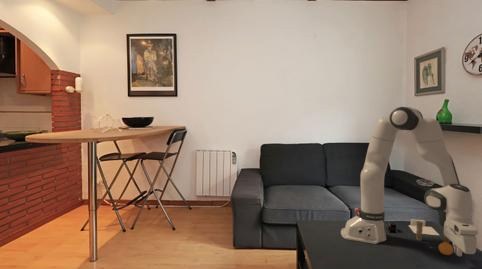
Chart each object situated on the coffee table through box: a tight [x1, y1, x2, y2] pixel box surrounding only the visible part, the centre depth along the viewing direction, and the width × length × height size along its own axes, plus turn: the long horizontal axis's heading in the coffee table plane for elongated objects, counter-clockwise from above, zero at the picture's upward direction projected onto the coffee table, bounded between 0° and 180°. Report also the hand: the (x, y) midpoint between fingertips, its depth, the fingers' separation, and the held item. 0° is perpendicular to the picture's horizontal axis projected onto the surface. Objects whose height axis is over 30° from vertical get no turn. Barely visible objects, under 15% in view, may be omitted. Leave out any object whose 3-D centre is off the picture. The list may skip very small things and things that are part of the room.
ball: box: [438, 241, 454, 256], centre depth 136 cm, size 6×6×6 cm
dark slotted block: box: [384, 221, 399, 234], centre depth 165 cm, size 12×7×5 cm, turn 169°
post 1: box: [415, 222, 423, 241], centre depth 152 cm, size 3×3×9 cm
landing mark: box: [407, 224, 440, 236], centre depth 165 cm, size 12×12×1 cm
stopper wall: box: [410, 218, 426, 226], centre depth 172 cm, size 7×2×3 cm, turn 76°
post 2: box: [443, 234, 451, 244], centre depth 149 cm, size 3×3×9 cm
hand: (458, 254), depth 126 cm, fingers closed
